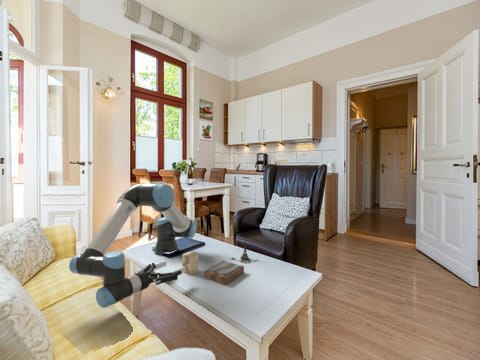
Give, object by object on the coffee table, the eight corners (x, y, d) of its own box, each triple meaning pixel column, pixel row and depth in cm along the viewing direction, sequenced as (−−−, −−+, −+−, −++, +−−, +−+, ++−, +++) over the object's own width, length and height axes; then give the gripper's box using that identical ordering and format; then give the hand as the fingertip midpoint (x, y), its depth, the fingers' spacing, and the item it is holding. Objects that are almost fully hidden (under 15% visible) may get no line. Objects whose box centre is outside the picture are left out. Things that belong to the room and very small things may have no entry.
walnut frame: (204, 277, 122) (204, 269, 121) (223, 266, 135) (223, 259, 135) (226, 285, 114) (226, 277, 114) (243, 272, 128) (243, 265, 127)
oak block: (182, 272, 127) (182, 254, 127) (190, 268, 133) (190, 250, 132) (190, 275, 124) (190, 256, 124) (198, 270, 129) (198, 253, 129)
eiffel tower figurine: (229, 259, 147) (230, 238, 146) (239, 254, 155) (239, 234, 154) (249, 266, 138) (249, 243, 137) (258, 260, 146) (259, 239, 145)
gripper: (120, 283, 108) (158, 267, 126) (155, 300, 94) (193, 279, 112) (120, 267, 107) (158, 253, 125) (155, 282, 94) (193, 264, 112)
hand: (175, 265), depth 119 cm, fingers open, 13 cm apart
